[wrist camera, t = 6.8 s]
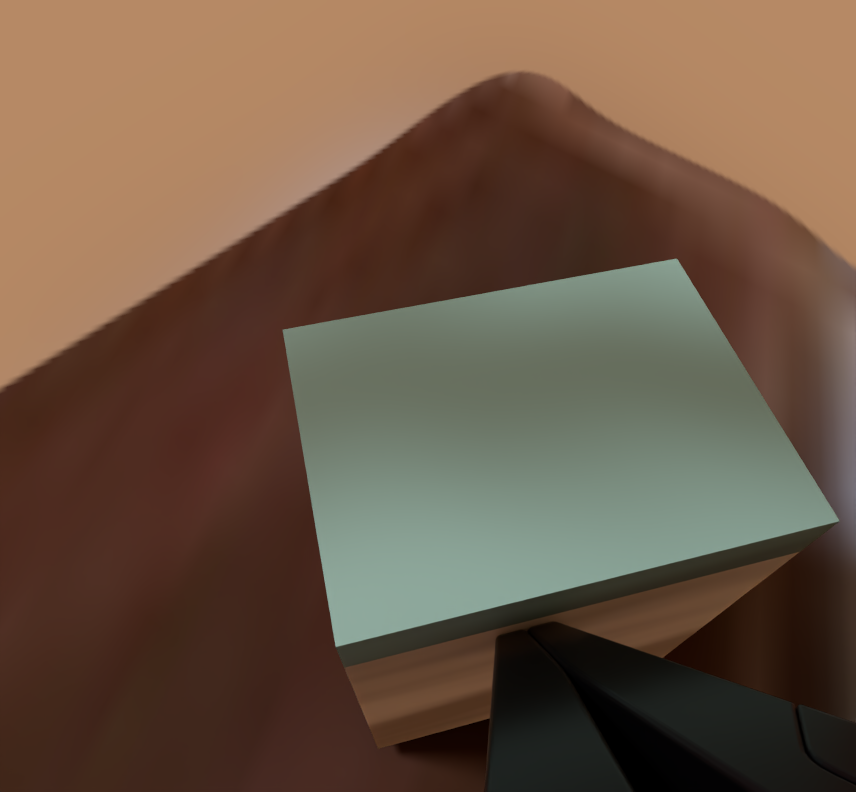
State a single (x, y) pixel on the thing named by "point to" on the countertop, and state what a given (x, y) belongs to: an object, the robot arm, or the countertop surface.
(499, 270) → the countertop surface
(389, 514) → the birch block
